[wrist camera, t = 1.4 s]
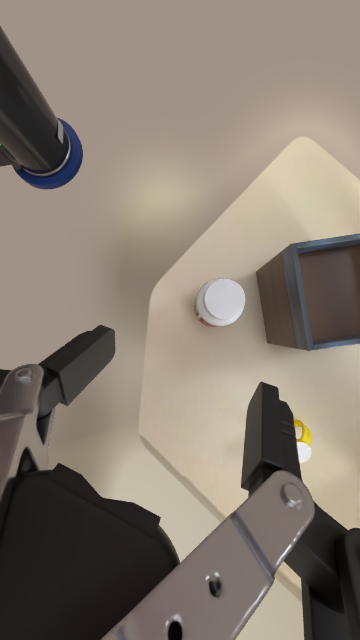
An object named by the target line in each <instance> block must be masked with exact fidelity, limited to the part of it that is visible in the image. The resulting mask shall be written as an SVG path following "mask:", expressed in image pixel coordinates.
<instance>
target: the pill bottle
mask: <svg viewBox="0 0 360 640" xmlns="http://www.w3.org/2000/svg"><path fill="white" fill-rule="evenodd" d="M244 305H245V294H244V291H243V289H242V287H241V286H240V285H239V284H238V283H237V282H235V281H233V280H230V279H214V280H211V281H209V282H207V283H206V284H205V285H204V286H203V287H202V288H201V289H200V291H199V293H198V295H197V299H196V302H195V314H196V316H197V318H198V319H199V320H200V321H201V322H202V323H203V324H205V325H207V326H211V327H217V326H225V325H229V324H231V323H233V322H234V321H236V320H237V319H238V318H239V317H240V315H241V313H242V311H243V309H244Z"/></svg>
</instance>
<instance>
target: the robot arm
mask: <svg viewBox="0 0 360 640" xmlns="http://www.w3.org/2000/svg"><path fill="white" fill-rule="evenodd" d="M71 154H72V143H71V140H70V138H69V136H68V134H67V132H66V131H65V129H64V128H63V126H62V124H61V122H60V121H59V120H58V119H57V117H56V116H55V114H54V112H53V111H52V109H51V108H50V106H49V104H48V103H47V101H46V99H45V98H44V96H43V95H42V93H41V91H40V90H39V88H38V86H37V85H36V83H35V82H34V80H33V78H32V77H31V75H30V74H29V72H28V70H27V69H26V67H25V65H24V64H23V62H22V61H21V59H20V57H19V56H18V54H17V53H16V51H15V49H14V48H13V46H12V44H11V43H10V41H9V40H8V38H7V36H6V35H5V33H4V31H3V30H2V28H1V26H0V166H6V165H13V166H14V167H15V168H16V169H17V170H19V171H20V172H27V173H29V174H30V175H32V176H35V177H40V178H46V177H51V176H54V175H56V174H58V173H59V172H61V171H62V170H63V169H64V168H65V167H66V166H67V164H68V163H69V161H70V158H71ZM114 354H115V331H114V330H113V329H111V328H108V327H105V326H102V325H99V326H98V327H96V328H95V329H94V330H92V331H87V332H84V333H82V334H79V335H78V336H77V337H75V338H74V339H72V340H71V341H70V342H68V343H67V344H65V346H63V347H61V348H60V349H58V350H57V351H56V352H54V353H53V354H52V355H50V356H49V357H47V358H46V359H45V360H44V361H42V362H41V363H39V364H38V365H36V364H27V365H22V366H20V367H17V368H15V369H14V370H2V369H0V640H235V639H236V638H237V636H238V635H239V633H240V632H241V630H242V629H243V627H244V626H245V624H246V623H247V622H248V620H249V619H250V617H251V616H252V614H253V613H254V612H255V610H256V608H257V607H258V606H259V604H260V603H261V601H262V600H263V599H264V597H265V596H266V594H267V593H268V591H269V589H270V588H271V586H272V584H273V582H274V579H275V577H274V575H275V573H276V571H277V569H278V568H279V566H280V565H281V563H282V562H283V561H284V562H285V563H286V564H287V565H288V566H289V567H290V568H291V569H292V570H293V571H294V572H295V573H296V574H297V575H298V576H299V577H300V578H301V585H302V604H303V621H304V640H360V529H359V528H352V529H350V530H347V529H346V528H344V527H343V526H342V525H341V524H339V523H338V522H337V521H336V520H334V519H333V518H332V517H331V516H329V515H328V514H327V513H326V512H324V511H323V510H322V509H321V508H320V507H319V506H318V505H317V504H316V503H315V502H314V501H313V499H312V496H311V494H310V492H309V490H308V489H307V487H306V486H305V485H304V483H303V481H302V478H301V472H300V464H299V456H298V449H297V441H296V437H295V436H296V434H295V428H294V419H293V413H292V412H291V410H290V408H289V406H288V404H287V403H286V402H283V401H281V400H279V391H278V388H277V387H275V386H272V385H269V384H267V383H264V382H260V383H259V385H258V387H257V389H256V391H255V393H254V395H253V397H252V399H251V401H250V403H249V406H248V410H247V418H246V430H245V442H244V454H243V467H242V479H241V488H243V489H245V490H248V491H249V496H248V499H247V500H246V501H245V502H244V503H243V504H242V505H241V506H240V507H239V508H237V509H236V510H235V511H234V512H233V513H231V514H230V515H229V516H228V517H227V518H226V519H225V520H224V521H223V522H222V523H221V524H220V525H219V526H218V527H217V528H216V529H215V530H214V531H213V532H212V533H211V534H210V535H209V536H207V537H206V538H205V539H204V541H202V542H201V543H200V544H199V546H197V547H196V548H195V549H194V550H193V551H192V552H191V553H190V554H189V555H188V556H187V557H186V558H185V559H184V560H183V561H182V562H181V563H180V561H179V558H178V555H177V553H176V550H175V548H174V546H173V544H172V542H171V540H170V538H169V537H168V536H167V534H166V533H165V531H164V530H163V529H162V528H161V527H160V526H159V522H160V518H161V517H159V516H157V515H155V514H153V513H152V512H150V511H148V510H146V509H144V508H142V507H141V506H139V505H137V504H135V503H132V502H126V501H119V500H113V499H106V498H102V497H101V496H100V495H99V494H98V493H97V492H96V491H95V490H94V488H93V487H92V486H91V485H90V484H89V483H88V482H87V481H86V479H85V478H84V477H83V476H82V475H81V474H79V473H77V472H75V471H73V470H71V469H70V468H68V467H66V466H64V465H62V464H60V463H58V465H57V466H56V467H55V468H54V469H53V470H48V446H49V440H50V435H51V429H52V423H53V418H54V413H55V406H56V405H57V404H58V403H59V402H60V403H62V404H64V405H66V406H68V405H69V404H70V403H71V402H72V401H73V400H74V399H75V398H76V397H77V395H79V394H80V393H81V391H82V390H83V389H84V388H85V387H86V386H87V385H88V384H89V383H90V382H91V381H92V380H93V379H94V378H95V377H96V376H97V375H98V374H99V373H100V371H101V370H102V369H103V368H104V367H105V366H106V365H107V364H108V363H109V362H110V361H111V360H112V358H113V356H114Z"/></svg>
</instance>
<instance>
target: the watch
mask: <svg viewBox="0 0 360 640" xmlns="http://www.w3.org/2000/svg"><path fill="white" fill-rule="evenodd" d="M296 426H300V427H302V436H301V438H300V439H296V441H297V449H298V456H299V462H305V461H307V460H308V459H309V458H310V456H311V449H310V447H309V445H310V443H311V432H310V430H309V429H308V428H307V427H306V426H305V425H304V424H303V423H302V422H301V421H300V420H297V419H294V427H296Z"/></svg>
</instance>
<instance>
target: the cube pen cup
mask: <svg viewBox="0 0 360 640" xmlns="http://www.w3.org/2000/svg"><path fill="white" fill-rule="evenodd" d="M256 273H257V279H258V285H259V292H260V298H261V304H262V311H263V317H264V323H265V329H266V336H267V342H268V343H270V344H275V345H280V346H286V347H291V348H296V349H302V350H307V351H311V350H319V349H326V348H333V347H340V346H347V345H355V344H360V234H354V235H347V236H340V237H334V238H327V239H321V240H314V241H307V242H301V243H294V244H290V245H289V246H288V247H286V248H285V249H284V250H283V251H281V252H280V253H279V254H278V255H276V256H275V257H274V258H273V259H271V260H270V261H269V262H268V263H266V264H265V265H264V266H263V267H261V268H260V269H259V270H258V271H256Z"/></svg>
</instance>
